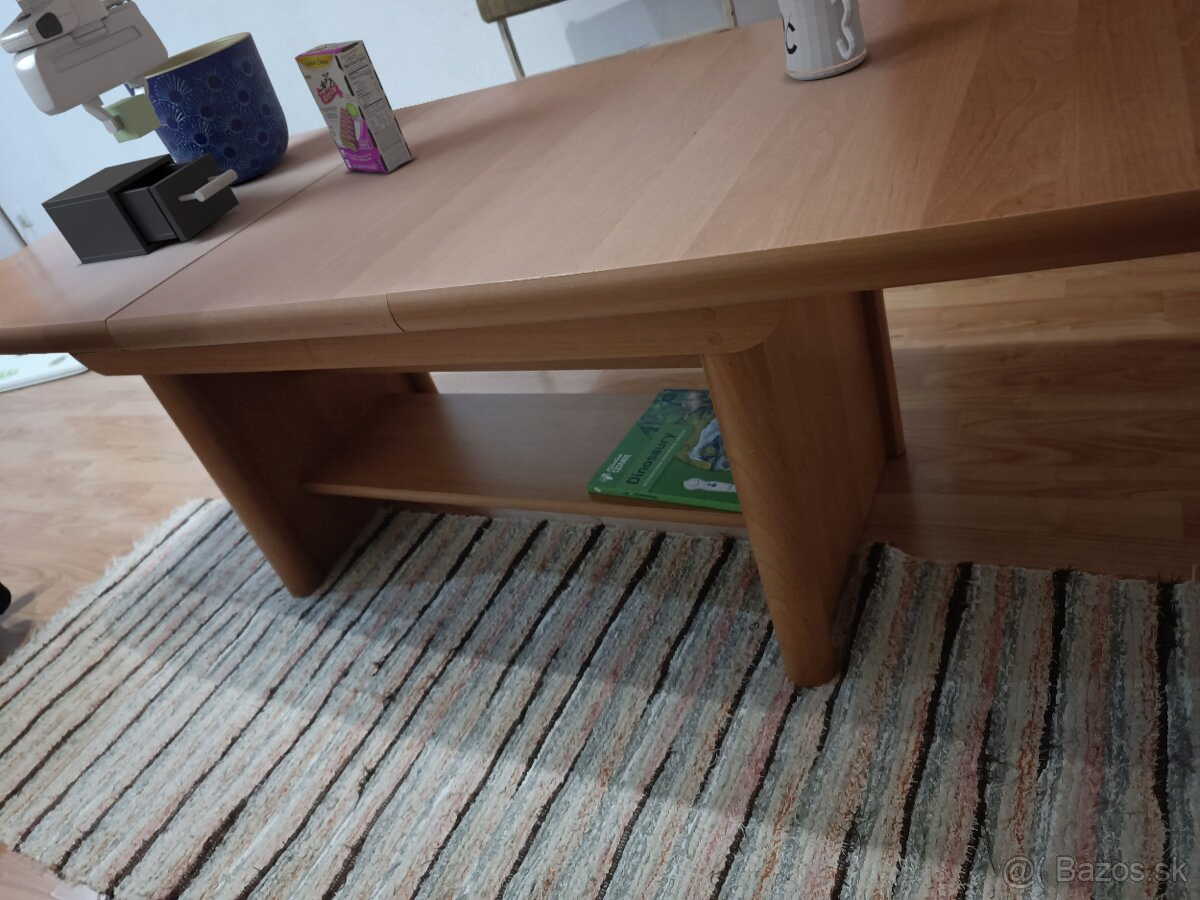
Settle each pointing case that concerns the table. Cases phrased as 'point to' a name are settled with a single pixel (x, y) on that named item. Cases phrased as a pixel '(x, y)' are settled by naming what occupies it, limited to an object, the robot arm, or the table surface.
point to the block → (134, 117)
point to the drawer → (178, 198)
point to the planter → (219, 107)
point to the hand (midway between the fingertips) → (133, 122)
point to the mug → (821, 36)
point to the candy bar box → (354, 106)
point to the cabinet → (102, 213)
